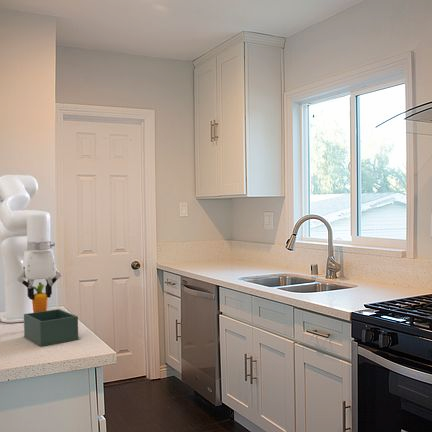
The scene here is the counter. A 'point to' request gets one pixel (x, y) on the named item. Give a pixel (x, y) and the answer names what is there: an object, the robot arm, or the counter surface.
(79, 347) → the counter surface
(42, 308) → the carrot
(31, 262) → the robot arm
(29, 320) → the bin
